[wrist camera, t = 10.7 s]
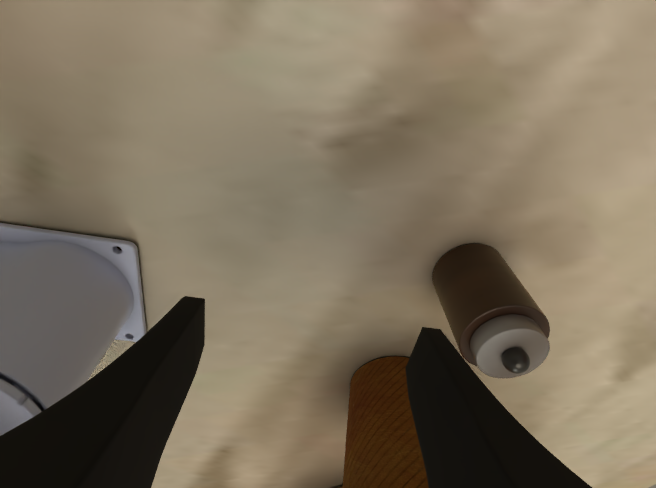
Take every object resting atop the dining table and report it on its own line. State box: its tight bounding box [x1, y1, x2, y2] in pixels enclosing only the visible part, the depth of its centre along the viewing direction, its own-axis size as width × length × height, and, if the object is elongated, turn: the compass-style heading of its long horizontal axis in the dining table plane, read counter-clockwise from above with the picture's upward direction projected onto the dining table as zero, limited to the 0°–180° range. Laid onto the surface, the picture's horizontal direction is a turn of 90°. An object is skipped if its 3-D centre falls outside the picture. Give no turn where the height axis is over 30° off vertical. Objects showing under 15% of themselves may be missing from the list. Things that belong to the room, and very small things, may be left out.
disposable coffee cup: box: [343, 356, 429, 488], centre depth 24 cm, size 10×10×12 cm
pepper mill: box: [432, 244, 550, 378], centre depth 20 cm, size 4×4×8 cm
